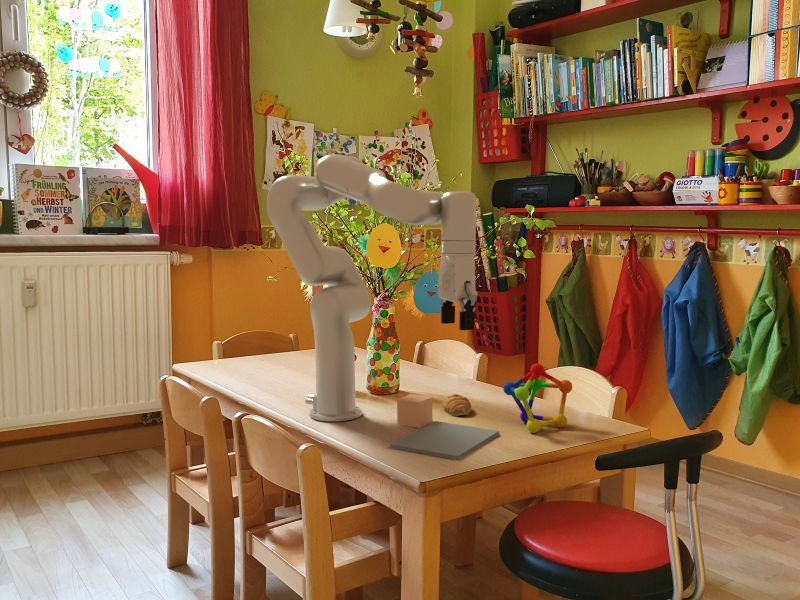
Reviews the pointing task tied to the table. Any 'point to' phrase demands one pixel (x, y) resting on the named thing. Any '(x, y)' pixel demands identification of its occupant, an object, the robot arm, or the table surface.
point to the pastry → (457, 405)
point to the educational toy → (522, 394)
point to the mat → (445, 440)
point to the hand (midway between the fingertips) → (457, 326)
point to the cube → (414, 410)
